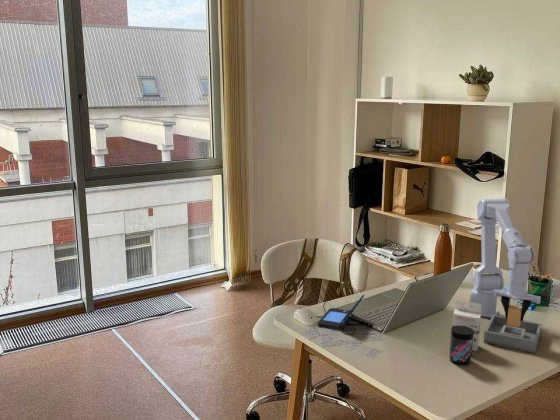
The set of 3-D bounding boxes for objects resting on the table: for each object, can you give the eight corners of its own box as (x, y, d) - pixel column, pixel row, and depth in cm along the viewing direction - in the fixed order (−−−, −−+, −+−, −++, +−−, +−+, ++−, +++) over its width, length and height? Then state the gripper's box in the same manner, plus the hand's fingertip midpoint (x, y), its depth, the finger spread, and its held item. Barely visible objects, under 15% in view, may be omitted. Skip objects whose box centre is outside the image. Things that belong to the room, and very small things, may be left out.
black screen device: (330, 311, 216) (330, 288, 214) (364, 316, 211) (365, 293, 209) (316, 326, 202) (316, 302, 200) (352, 333, 197) (352, 308, 195)
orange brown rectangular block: (506, 324, 191) (508, 307, 189) (508, 320, 194) (510, 304, 193) (519, 327, 189) (521, 310, 187) (521, 322, 192) (522, 306, 191)
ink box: (449, 346, 186) (453, 304, 183) (452, 340, 191) (455, 299, 188) (477, 351, 183) (480, 309, 180) (478, 345, 187) (482, 303, 184)
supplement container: (444, 360, 177) (447, 330, 175) (454, 353, 182) (457, 323, 179) (465, 368, 172) (468, 336, 170) (474, 360, 177) (477, 329, 175)
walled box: (483, 342, 189) (484, 331, 189) (491, 325, 203) (492, 314, 202) (535, 353, 182) (536, 342, 181) (540, 334, 195) (541, 323, 194)
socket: (500, 337, 191) (500, 332, 190) (503, 330, 197) (503, 324, 196) (522, 342, 188) (522, 337, 187) (524, 334, 193) (525, 329, 193)
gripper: (493, 281, 188) (489, 319, 191) (540, 288, 181) (536, 328, 184) (496, 275, 194) (493, 311, 197) (542, 282, 187) (538, 320, 190)
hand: (514, 319), depth 191 cm, fingers closed on orange brown rectangular block, 4 cm apart
